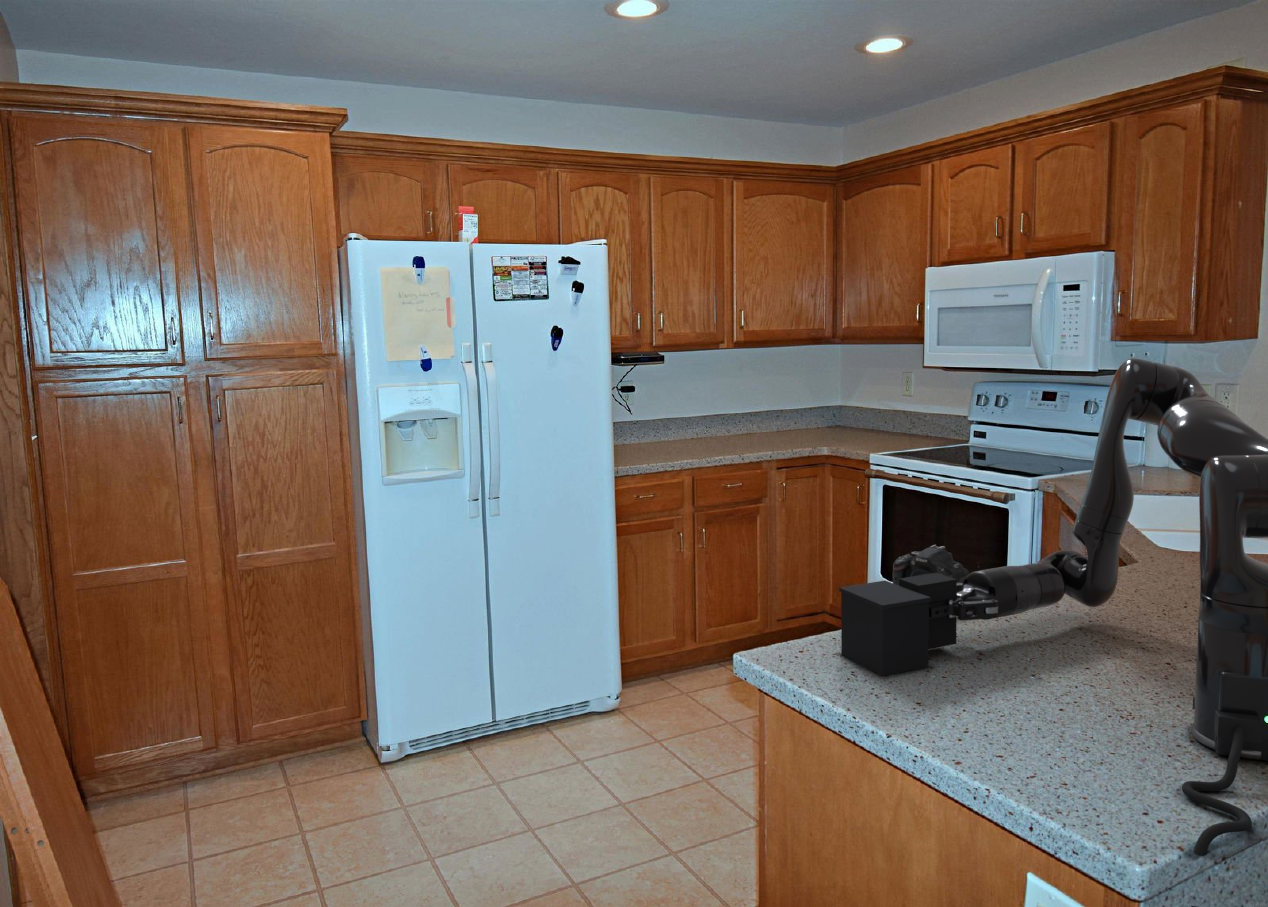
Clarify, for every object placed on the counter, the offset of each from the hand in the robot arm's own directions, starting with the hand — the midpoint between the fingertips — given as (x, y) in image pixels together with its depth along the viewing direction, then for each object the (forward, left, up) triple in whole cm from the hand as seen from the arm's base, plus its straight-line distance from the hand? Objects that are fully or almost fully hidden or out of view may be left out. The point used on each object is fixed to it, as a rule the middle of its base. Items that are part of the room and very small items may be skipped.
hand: (913, 607), depth 132 cm
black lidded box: (-4, +4, -7) cm, 9 cm away
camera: (+30, 0, -7) cm, 31 cm away
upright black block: (+2, -2, -6) cm, 7 cm away
